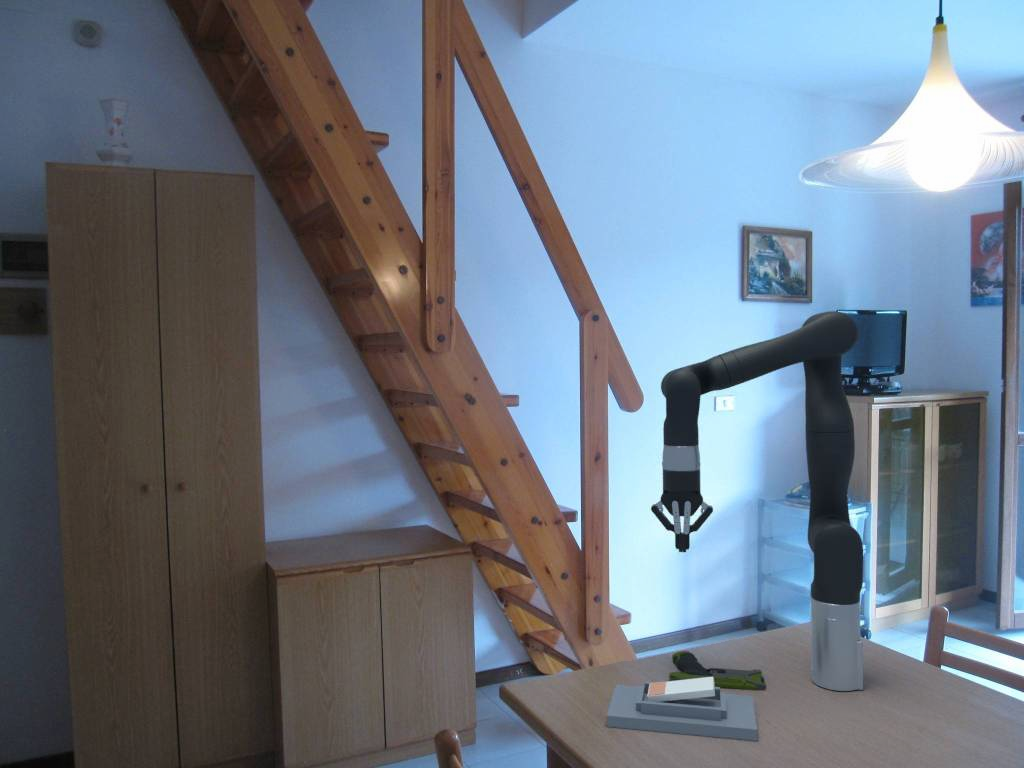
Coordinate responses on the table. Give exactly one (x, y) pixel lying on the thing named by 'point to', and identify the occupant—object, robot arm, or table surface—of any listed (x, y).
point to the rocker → (681, 689)
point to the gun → (716, 674)
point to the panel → (684, 714)
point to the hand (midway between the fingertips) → (682, 551)
